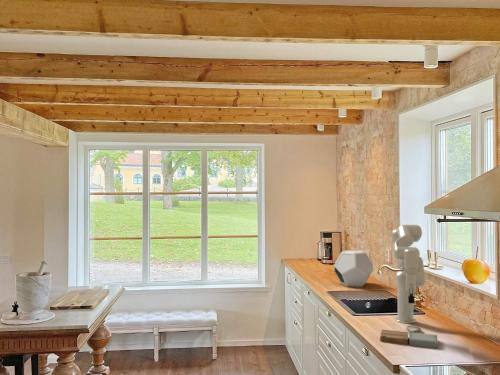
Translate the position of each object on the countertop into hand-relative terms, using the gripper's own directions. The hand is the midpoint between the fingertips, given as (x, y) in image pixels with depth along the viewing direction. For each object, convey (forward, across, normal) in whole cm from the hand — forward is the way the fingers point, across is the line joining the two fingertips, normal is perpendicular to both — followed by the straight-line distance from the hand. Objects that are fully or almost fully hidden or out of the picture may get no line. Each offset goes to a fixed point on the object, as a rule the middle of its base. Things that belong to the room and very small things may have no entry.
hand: (411, 302), depth 259 cm
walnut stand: (+18, +13, -9) cm, 24 cm away
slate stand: (+18, +14, +6) cm, 23 cm away
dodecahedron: (+20, -134, -50) cm, 145 cm away
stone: (+19, +1, 0) cm, 19 cm away
